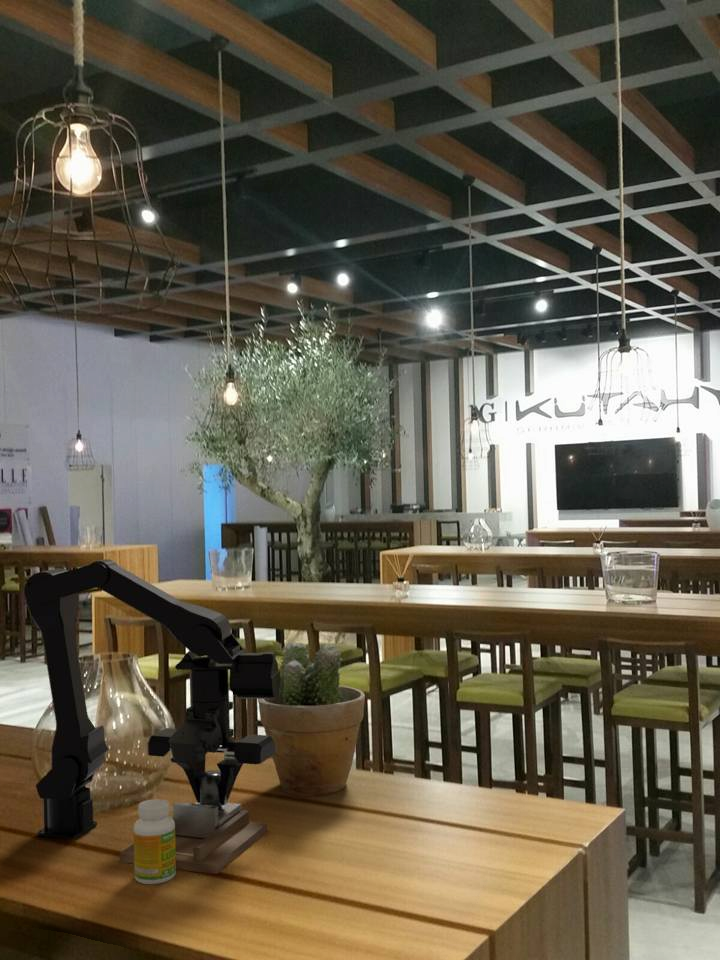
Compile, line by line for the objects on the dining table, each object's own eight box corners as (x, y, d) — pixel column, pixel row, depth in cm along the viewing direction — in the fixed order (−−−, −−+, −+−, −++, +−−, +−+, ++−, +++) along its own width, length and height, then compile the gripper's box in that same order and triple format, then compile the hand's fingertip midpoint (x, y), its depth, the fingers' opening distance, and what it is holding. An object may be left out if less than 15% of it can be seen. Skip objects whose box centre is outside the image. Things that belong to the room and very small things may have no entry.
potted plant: (237, 791, 161) (233, 643, 161) (305, 763, 176) (301, 628, 176) (324, 810, 150) (320, 652, 150) (388, 779, 165) (384, 635, 165)
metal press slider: (172, 834, 137) (171, 783, 137) (200, 815, 145) (198, 767, 145) (216, 839, 135) (214, 787, 135) (241, 820, 143) (240, 770, 143)
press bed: (119, 861, 132) (119, 840, 132) (178, 821, 147) (178, 802, 147) (216, 874, 127) (216, 851, 127) (267, 831, 142) (266, 811, 142)
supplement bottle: (166, 886, 123) (164, 811, 123) (127, 884, 124) (125, 809, 124) (182, 869, 128) (180, 797, 128) (145, 867, 129) (143, 796, 129)
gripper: (125, 707, 137) (127, 816, 137) (242, 715, 131) (244, 828, 131) (165, 690, 147) (167, 791, 147) (275, 697, 141) (278, 802, 141)
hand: (212, 803), depth 141 cm, fingers closed on metal press slider, 4 cm apart
